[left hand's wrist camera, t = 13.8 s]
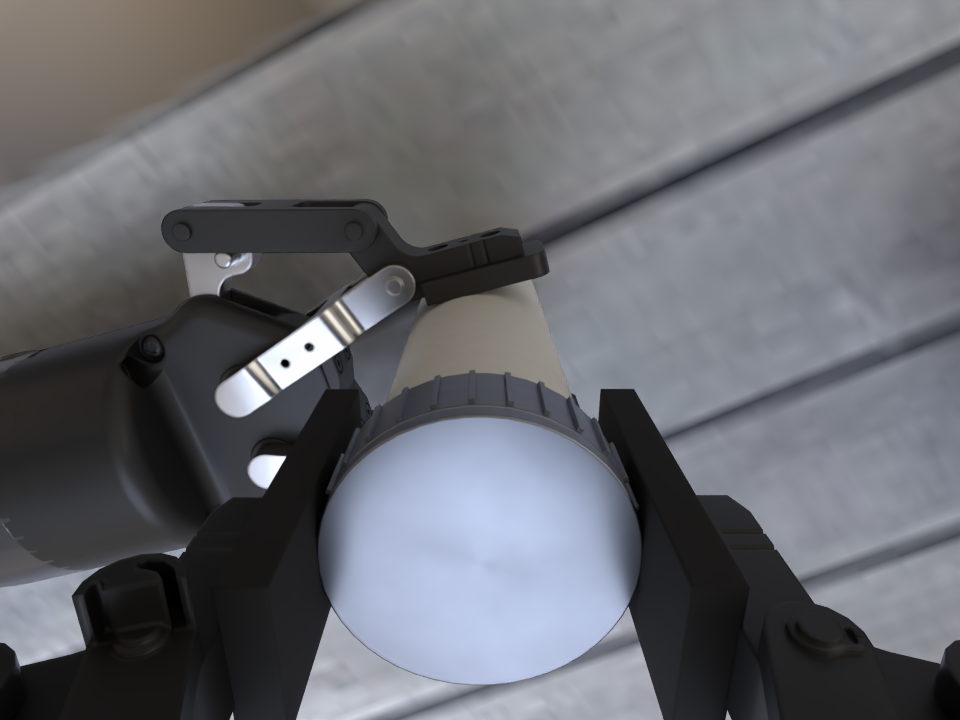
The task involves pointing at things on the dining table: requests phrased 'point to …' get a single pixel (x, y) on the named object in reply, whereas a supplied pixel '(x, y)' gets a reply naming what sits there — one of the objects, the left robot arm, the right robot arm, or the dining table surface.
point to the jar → (482, 340)
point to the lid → (479, 531)
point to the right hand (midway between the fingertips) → (560, 337)
